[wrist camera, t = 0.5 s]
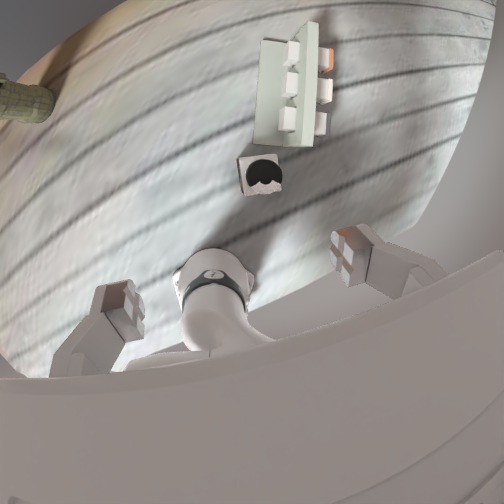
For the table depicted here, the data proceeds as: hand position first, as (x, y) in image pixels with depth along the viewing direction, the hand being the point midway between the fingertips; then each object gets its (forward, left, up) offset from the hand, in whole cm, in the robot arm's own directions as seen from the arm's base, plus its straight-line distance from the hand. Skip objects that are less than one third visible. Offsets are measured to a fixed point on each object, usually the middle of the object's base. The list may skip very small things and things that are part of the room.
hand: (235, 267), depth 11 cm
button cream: (+19, -15, -43) cm, 49 cm away
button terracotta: (+26, -15, -43) cm, 52 cm away
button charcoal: (+12, -15, -43) cm, 47 cm away
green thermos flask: (+19, +44, -48) cm, 68 cm away
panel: (+19, -11, -47) cm, 52 cm away
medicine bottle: (+1, -8, -48) cm, 48 cm away
